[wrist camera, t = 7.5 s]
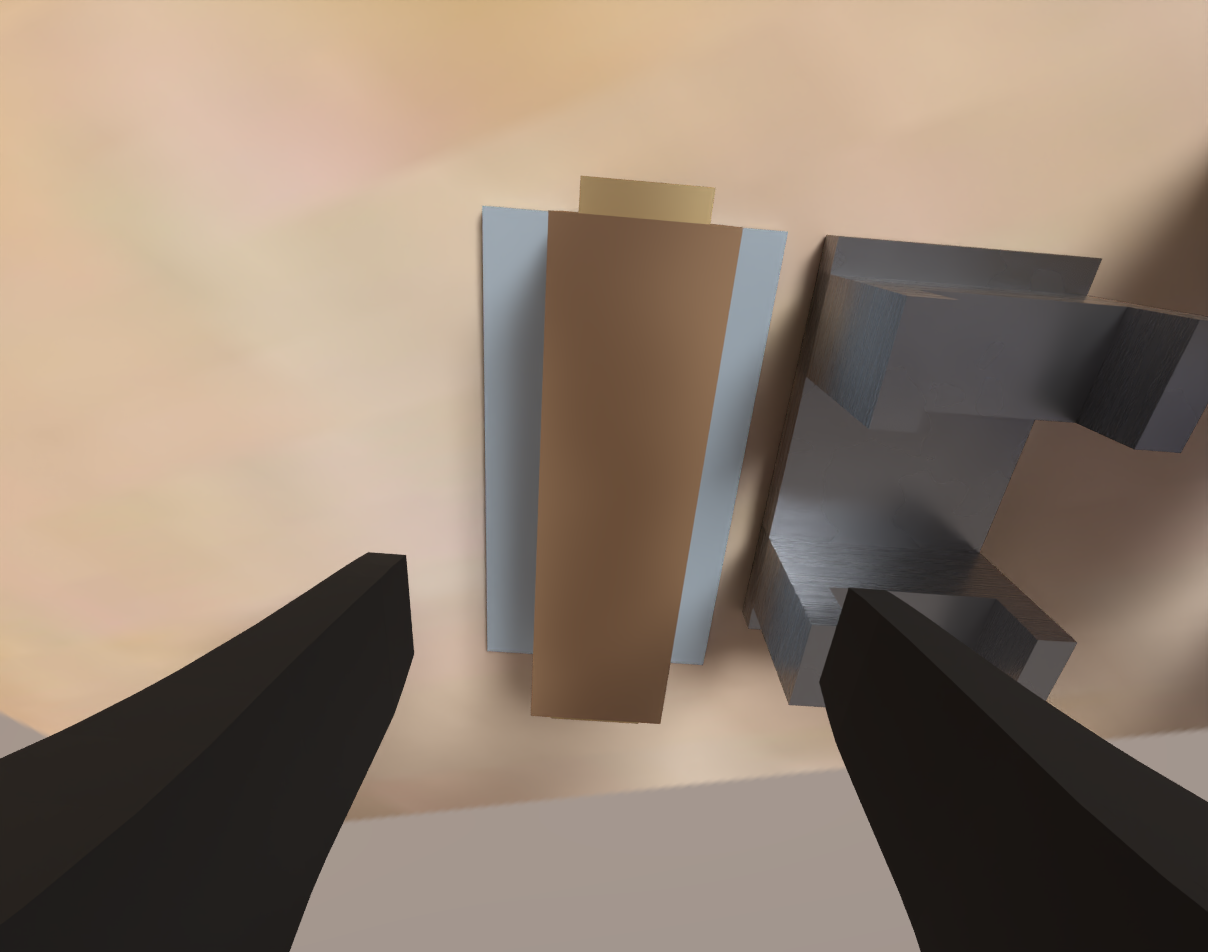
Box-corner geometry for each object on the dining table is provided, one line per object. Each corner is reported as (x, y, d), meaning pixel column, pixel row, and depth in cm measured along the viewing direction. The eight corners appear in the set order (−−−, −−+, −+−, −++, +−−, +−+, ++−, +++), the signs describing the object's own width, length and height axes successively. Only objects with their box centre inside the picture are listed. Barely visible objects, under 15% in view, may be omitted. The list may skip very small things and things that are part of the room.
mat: (784, 231, 13) (787, 231, 13) (701, 658, 19) (702, 664, 19) (484, 206, 13) (482, 205, 13) (489, 644, 19) (487, 651, 18)
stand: (1075, 256, 14) (1277, 275, 9) (929, 624, 18) (1021, 743, 14) (826, 235, 13) (921, 245, 9) (742, 611, 18) (781, 729, 14)
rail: (715, 194, 13) (749, 189, 10) (649, 651, 18) (657, 740, 15) (564, 181, 13) (549, 171, 10) (543, 644, 18) (530, 731, 15)
